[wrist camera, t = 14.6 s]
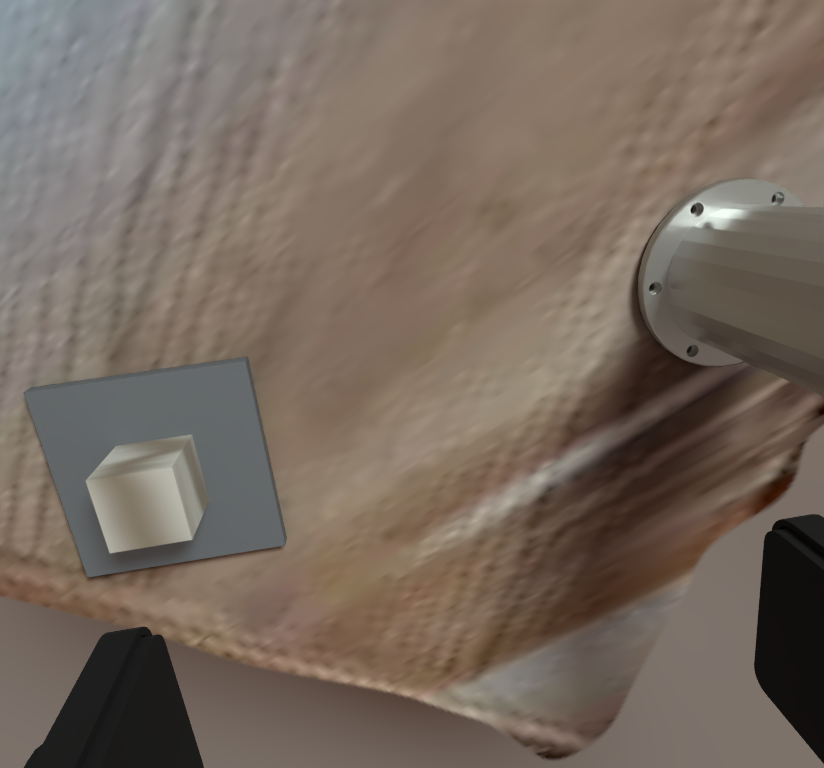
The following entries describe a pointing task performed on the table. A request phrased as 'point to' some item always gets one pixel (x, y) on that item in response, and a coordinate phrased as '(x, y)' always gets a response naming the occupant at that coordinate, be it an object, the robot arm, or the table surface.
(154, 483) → the cream cube
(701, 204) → the robot arm
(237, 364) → the slate board
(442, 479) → the table surface
